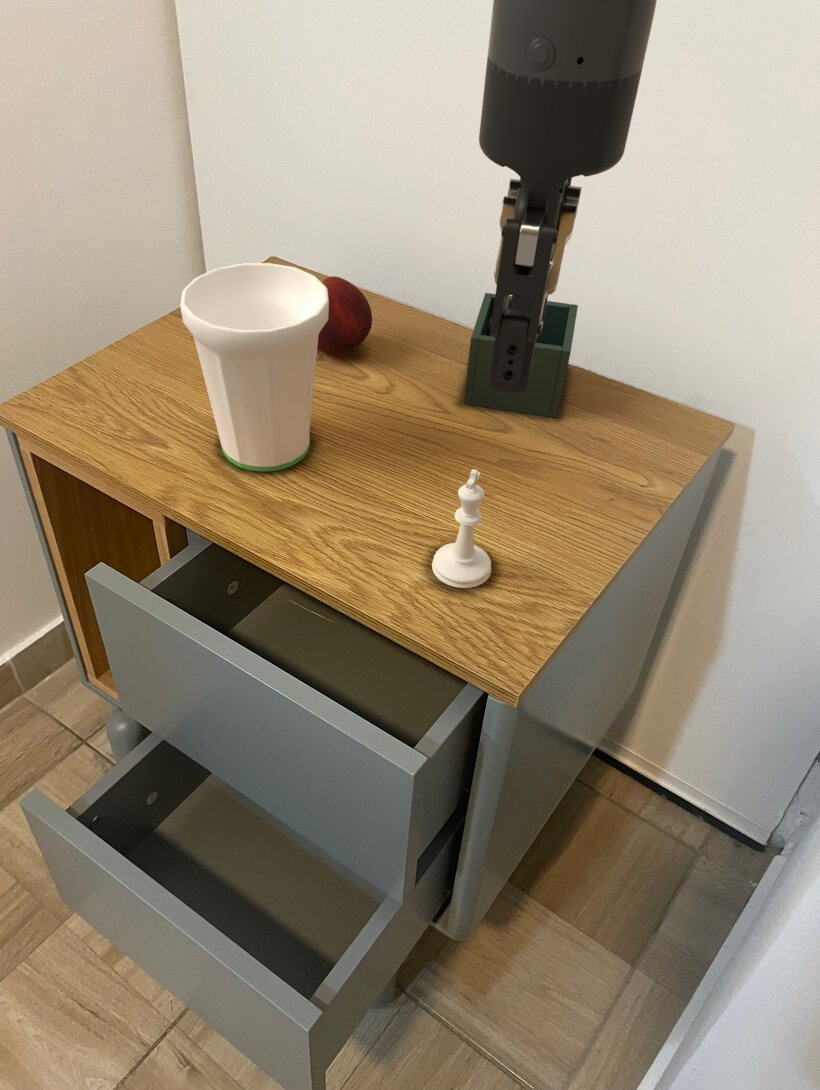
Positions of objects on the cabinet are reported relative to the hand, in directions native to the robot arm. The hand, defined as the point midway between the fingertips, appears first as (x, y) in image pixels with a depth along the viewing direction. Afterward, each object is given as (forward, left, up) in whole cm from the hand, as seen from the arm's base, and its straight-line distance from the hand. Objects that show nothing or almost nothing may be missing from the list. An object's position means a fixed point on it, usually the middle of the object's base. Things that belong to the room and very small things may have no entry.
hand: (517, 351), depth 54 cm
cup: (+23, -16, -23) cm, 36 cm away
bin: (+1, -33, -22) cm, 40 cm away
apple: (+21, -35, -23) cm, 46 cm away
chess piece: (+2, -4, -23) cm, 23 cm away
